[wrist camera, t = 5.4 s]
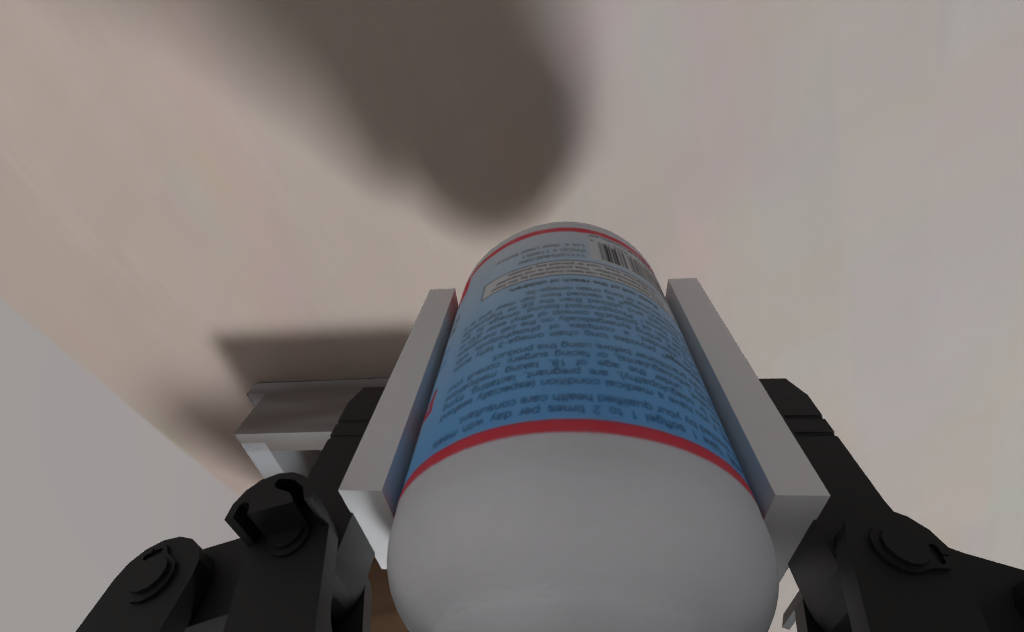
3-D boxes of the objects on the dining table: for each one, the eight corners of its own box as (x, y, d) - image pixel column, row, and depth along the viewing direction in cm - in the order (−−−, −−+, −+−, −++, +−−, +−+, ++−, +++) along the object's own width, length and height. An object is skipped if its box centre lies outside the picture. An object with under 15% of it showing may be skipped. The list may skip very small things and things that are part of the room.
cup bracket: (255, 383, 21) (11, 680, 11) (482, 374, 20) (434, 691, 10) (336, 522, 28) (229, 780, 18) (507, 520, 27) (493, 792, 17)
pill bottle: (429, 267, 13) (117, 879, 4) (617, 177, 11) (1030, 1011, 2) (518, 395, 16) (477, 915, 6) (680, 341, 14) (959, 982, 4)
